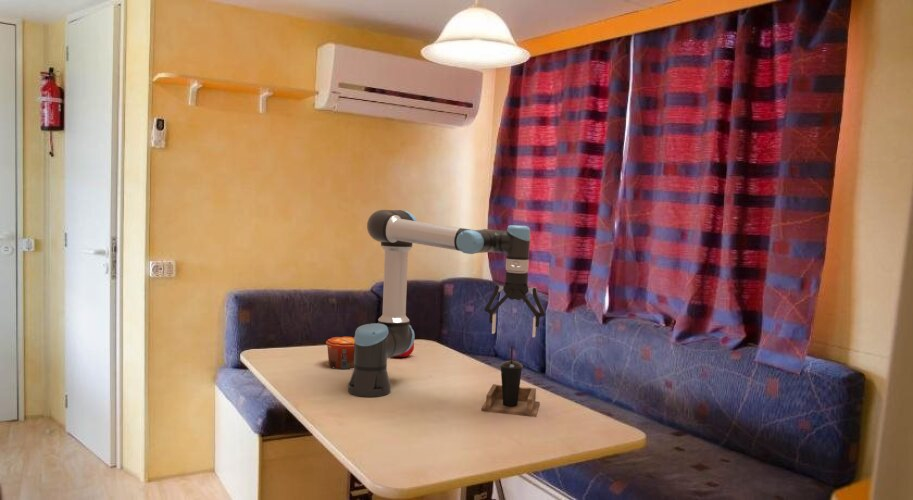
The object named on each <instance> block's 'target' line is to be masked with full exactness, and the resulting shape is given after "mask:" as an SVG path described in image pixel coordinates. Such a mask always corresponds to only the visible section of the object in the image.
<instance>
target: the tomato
mask: <svg viewBox="0 0 913 500" xmlns="http://www.w3.org/2000/svg"><path fill="white" fill-rule="evenodd" d="M414 347H415V343H413V345H412V347H411V348H410V349H409V350H408V351H406V352H404V353H403V354H401V355H396V356H393V357H395V358H406V357H409V356H410V355H411V354H413V351H414V349H415V348H414Z"/></svg>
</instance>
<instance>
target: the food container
mask: <svg viewBox="0 0 913 500" xmlns="http://www.w3.org/2000/svg"><path fill="white" fill-rule="evenodd" d="M354 338H355V337H352V336H342V337H341V336H340V337H339V336H335V337H331V338H329V339H327V340H326V341H325V344H326V346H327V357H328V365H329V367H330V368H332V367H334V368H333V369H336V368H340V369H339V370H351V369H350V368H354V343H355V342H354Z"/></svg>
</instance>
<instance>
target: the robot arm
mask: <svg viewBox="0 0 913 500" xmlns="http://www.w3.org/2000/svg"><path fill="white" fill-rule="evenodd" d="M366 229H367V232H368V234H369V236H370V237H371V238H372V239H373V240H374V241H376V242H380V247H381V248H382V249H383V250H384V263H383V265H384V266H383V295H382V299H383V300H382V315H381V316H380V317H379V318H378V319H377V320H378V322H377V323H376V322H375V323H367V324H366V323H365V324H362V325H360V326H358V327H357V328H356V330H355V333H354V337H353V338H354V342H355V343H354V369H352V373H351V376H350V380H349V381H348V385H347V392H348V393H349V394H350V393H351V394H350V395H353V396H356V395H357V396H356V397H363V398H365V397H366V398H371V397H373V398H375V397H376V398H377V397H382V396H386V395H389V394H391V392H392V384H391V381H390V377H389V374H388V368H387V367H388V366H387V365H388V359H389V358H393V357H394V356H396V355H401V354H403V353H404V352H406V351H408V350H409V349H410V348H411V347H412V345H413V343H414V342H415V337H416V336H415V331H414V329H413V327H412V325H410V319H409V318H408V317H407V315H406V314H407V291H408V289H407V286H408V283H407V282H408V266H409V265H408V264H409V263H408V262H409V259H408V257H409V251H410V250H412V248H413V244H417V245H423V246H430V247H435V248H440V249H446V250H452V251H459V252H461V253H464V254H467V255H474V254H481V253H482V254H484V253H499V254H500V253H503V254H506V257H505V258H506V259H505V270H506V271H505V277H504V279H505V280H504V285H500V284H496V285H495V287H494V291H493V293H492V295H491V297H490V299H489V301H488V302H487V303H486V306H485V307H484V312H486V313H488V314H489V316H488V317H489V324H491V334H492V335H494V334H495V333H496V326H497V325H496V323H497V312H496V311H497V310H498V309H499V308H500V306H502V305H503V303H504V302H505V301H506V300H507V299H509V300H515V301H516V300H517V301H521V300H522V301H523V302H524V303H525V304H526V306H527V307H528V309H529V310H530V311H531V313H532V314H533V315H534V316H533V318H532V336H531V337H532V338H535V337H536V332H537V331H536V329H537V328H539V327H540V318H541V317H544V316H545V315H546V311H545V308H544V306H543V305H542V301H541V299H540V297H539V294H538V288H537V287H536V286H534V287H529V286H528V285H529V284H528V283H529V273H528V271H529V263H530V245H531V244H530V243H531V228H530V227H529V226H528V225H515V224H514V225H512V224H511V225H508V226H507V229H506V230H497V229H487V228H482V229H471V228H464V227H463V228H462V227H457V226H450V225H443V224H436V223H430V222H423V221H419V220H417V218H416V217H415V215H414V214H412V213H411V212H409V211H406V210H403V209H402V210H401V209H393V210H392V209H380V210H376V211H375V212H373V213H372V214H371V215H370V216H369V217H368V220H367V223H366ZM502 290H503V291H504V293H505V295H504V296H503V297H502V298H501V299H499V301H498V302H497V303H496V304H495V305H494V306H493V307H492V305H493V303H494V302H495V299H496V297H497V296H498V295H499V293H500V292H501V291H502ZM529 292H530V294H531V295H532V296H533V299H534V301H535V304H536V305H537V308H538V310H539V311H538V310H537V308H536V307H535V306H534V304H532V302H531V300H530V299H529V297H528V296H527V294H528V293H529ZM414 344H415V343H414Z"/></svg>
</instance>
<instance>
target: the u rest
mask: <svg viewBox="0 0 913 500" xmlns="http://www.w3.org/2000/svg"><path fill="white" fill-rule="evenodd" d="M536 393H537V388H536V387H534V388H533V387H524V386H520V387H519V395H518V403H517V406H514V407H508V406H504V405H503V396H502V384H496V383H494V384H492V386H491V387H490V389H489V391H488V392H487V394H486V399H485V401H484V403H483V404H482V406H481V409H480V410H481V411H480V412H486V413H487V412H488V413H497V414H508V415H515V416H517V415H518V416H523V417H524V416H525V417H526V416H527V417H537V414H538V411H539V408H540V404H541V403H540V401H538V400H536V397H537V396H536V395H537V394H536Z"/></svg>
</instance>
